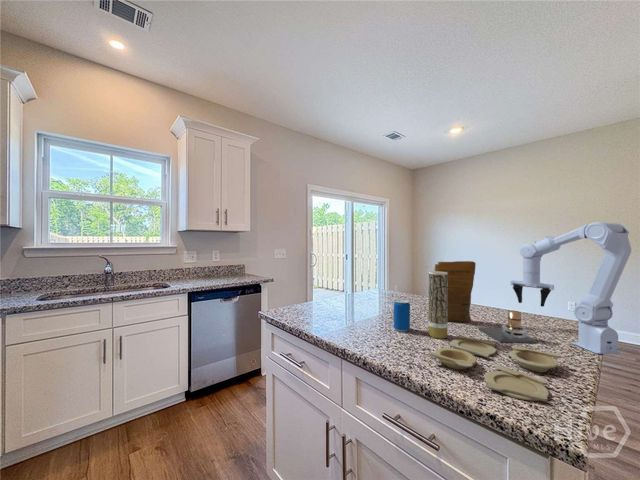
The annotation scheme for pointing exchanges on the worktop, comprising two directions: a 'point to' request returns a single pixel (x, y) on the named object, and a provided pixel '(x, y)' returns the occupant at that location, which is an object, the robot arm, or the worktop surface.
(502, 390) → the tableware set
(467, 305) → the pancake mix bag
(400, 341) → the worktop surface
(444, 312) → the grey patterned cylinder
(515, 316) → the brown banded cylinder
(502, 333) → the collar stand
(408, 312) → the beverage can
